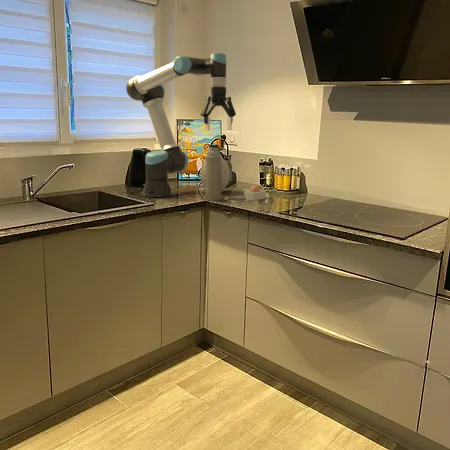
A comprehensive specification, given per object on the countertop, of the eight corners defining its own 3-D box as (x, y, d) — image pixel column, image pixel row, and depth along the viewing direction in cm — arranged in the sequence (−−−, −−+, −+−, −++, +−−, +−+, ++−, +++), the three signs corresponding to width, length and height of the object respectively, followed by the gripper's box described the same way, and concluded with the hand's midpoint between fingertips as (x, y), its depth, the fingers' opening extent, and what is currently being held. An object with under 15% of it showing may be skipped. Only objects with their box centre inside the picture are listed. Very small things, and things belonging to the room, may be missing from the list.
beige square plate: (223, 198, 245) (223, 197, 244) (239, 197, 250) (239, 196, 249) (233, 202, 236) (233, 201, 236) (249, 200, 241) (249, 199, 241)
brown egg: (249, 193, 248) (249, 185, 247) (256, 192, 250) (256, 185, 249) (254, 194, 244) (254, 187, 243) (261, 193, 246) (261, 186, 245)
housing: (244, 197, 249) (244, 190, 248) (256, 196, 253) (257, 188, 252) (253, 200, 242) (253, 192, 241) (265, 198, 246) (265, 191, 245)
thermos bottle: (221, 197, 247) (221, 144, 240) (220, 200, 240) (221, 145, 233) (206, 197, 248) (206, 144, 241) (205, 200, 240) (205, 145, 233)
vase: (226, 195, 253) (227, 154, 247) (197, 194, 255) (197, 153, 250) (231, 190, 268) (231, 151, 263) (203, 189, 271) (203, 150, 265)
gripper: (201, 85, 220) (202, 131, 225) (243, 86, 235) (242, 129, 240) (193, 86, 226) (193, 130, 231) (233, 87, 240) (233, 129, 246)
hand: (218, 130), depth 236 cm, fingers open, 13 cm apart
